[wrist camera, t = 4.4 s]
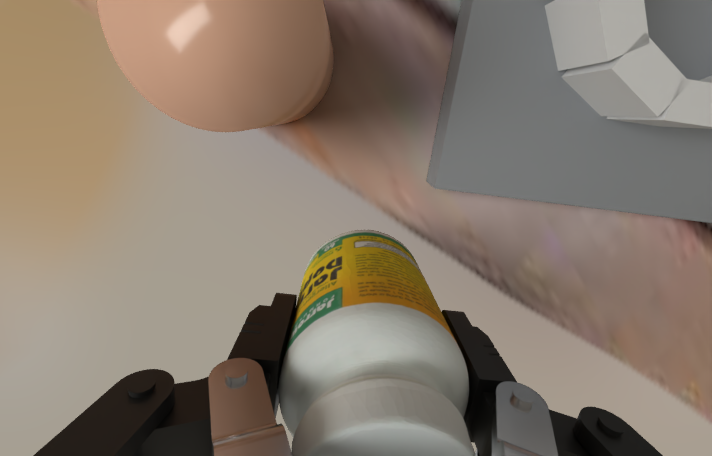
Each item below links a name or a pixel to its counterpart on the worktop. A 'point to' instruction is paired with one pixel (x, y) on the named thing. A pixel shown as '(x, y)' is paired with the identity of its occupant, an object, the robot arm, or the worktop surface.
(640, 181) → the collar board
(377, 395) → the supplement bottle
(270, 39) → the peach pill-shaped knob
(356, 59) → the worktop surface
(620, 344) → the worktop surface
